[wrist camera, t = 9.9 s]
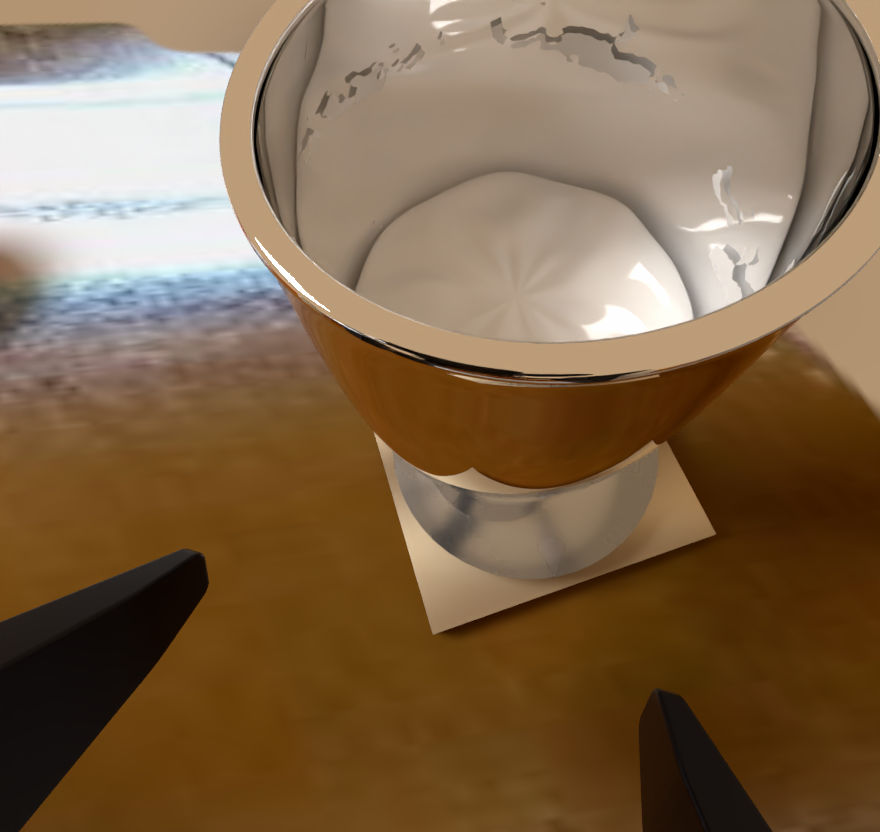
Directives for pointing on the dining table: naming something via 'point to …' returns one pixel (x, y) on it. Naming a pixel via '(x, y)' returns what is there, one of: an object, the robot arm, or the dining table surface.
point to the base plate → (482, 593)
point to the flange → (536, 524)
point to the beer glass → (551, 213)
